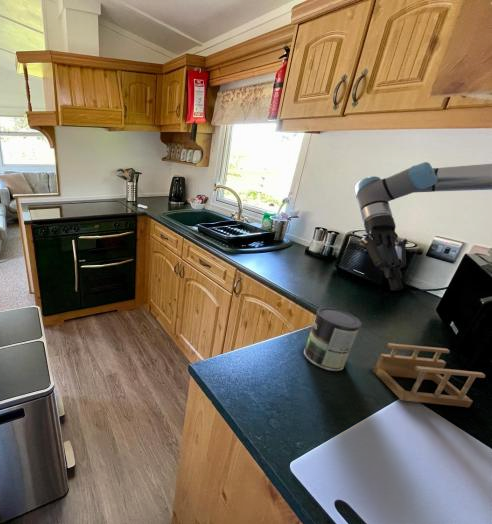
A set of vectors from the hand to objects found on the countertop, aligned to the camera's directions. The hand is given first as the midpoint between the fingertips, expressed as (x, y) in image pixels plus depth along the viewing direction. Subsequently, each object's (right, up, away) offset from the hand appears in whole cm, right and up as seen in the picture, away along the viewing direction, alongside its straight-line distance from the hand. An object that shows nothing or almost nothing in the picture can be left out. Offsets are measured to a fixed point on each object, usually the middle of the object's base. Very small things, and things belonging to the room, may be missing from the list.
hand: (397, 289), depth 84 cm
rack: (-3, -25, -10) cm, 27 cm away
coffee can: (-22, -20, -1) cm, 30 cm away
